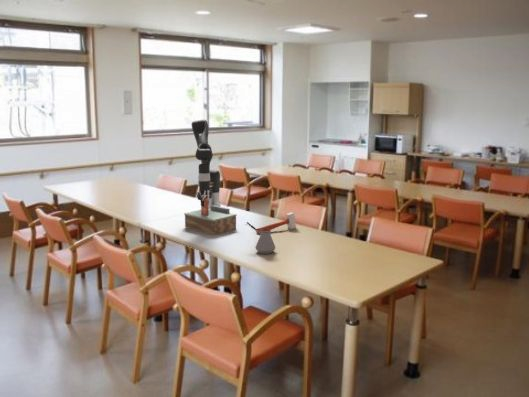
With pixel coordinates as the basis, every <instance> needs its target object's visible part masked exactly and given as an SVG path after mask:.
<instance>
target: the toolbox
mask: <svg viewBox="0 0 529 397" xmlns="http://www.w3.org/2000/svg"><path fill="white" fill-rule="evenodd" d="M184 226H185V229H188V230H192V231H196V232H201V233H204V234H205V233H206V234H208V235H212V234H213V235H214V236H216V234H217V235H221V234H223V233H227V232H230V231H234V230H237V216H234V217H230V218H226V219H222V220H218V221H210V220H205V219H201V218H196V217H192V216H188V215H184ZM213 235H212V236H213Z"/></svg>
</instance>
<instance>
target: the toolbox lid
mask: <svg viewBox="0 0 529 397" xmlns="http://www.w3.org/2000/svg"><path fill="white" fill-rule="evenodd" d="M183 215H184V216H185V215H188V216H192V217H196V218H201V219H205V220H210V221H218V220H222V219H226V218H230V217H234V216H236V217H237V216H238V215H237V213H232V212H230V208H227V207H223V206H221V207H218V206H213V205H212V206H211V209H209V215H207V216H202V215H201V209H198V210H193V211H189V212H185V213H184V214H183Z"/></svg>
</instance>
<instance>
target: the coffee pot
mask: <svg viewBox="0 0 529 397" xmlns="http://www.w3.org/2000/svg"><path fill="white" fill-rule="evenodd" d="M245 226H249V227H250V228H252V229H253V230H254V231H255V232H256V231H257V232H258V233H259V234H258V235H259V238H258V240H257V242H256V245H255V250H256V251H257V252H258V253H259V254H262V255H270V254H272V253H273V252H274V251H275V250H276V244H275V243H274V240H273V238H272V235H271V232H272V230H270V229H261V230H260V231H261V233H260V232H259V231H258V230H257V229H258V228H256V227H255V226H254V225H252V224H251V223H249V222H248V221H247V222H246V223H245Z"/></svg>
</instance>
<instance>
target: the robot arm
mask: <svg viewBox="0 0 529 397" xmlns="http://www.w3.org/2000/svg"><path fill="white" fill-rule="evenodd" d="M191 130H192V132H193V136H194V139H195V142H196V145H197V149H196V151H195V158H196V160H198V161H201V163H199V164H198V188H199V190H198V191H196V192H195V196H196V198H197V200H199V201H200V206H204V197H206V198H208V206H209V209H211V206H212V205H213V206H218V207H222V206H221V203H222V202H221V200H220V199H221V198H220V188H221V172H220V171H219V170H215V169H213V170H212V169H210V164H211V161H212V159H213V156H214V155H213V151H212V147H211V145H210V144H209V133H210V132H209V124H208V120H207V119H199V120H194V121H191ZM211 184H212V185H211Z"/></svg>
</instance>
